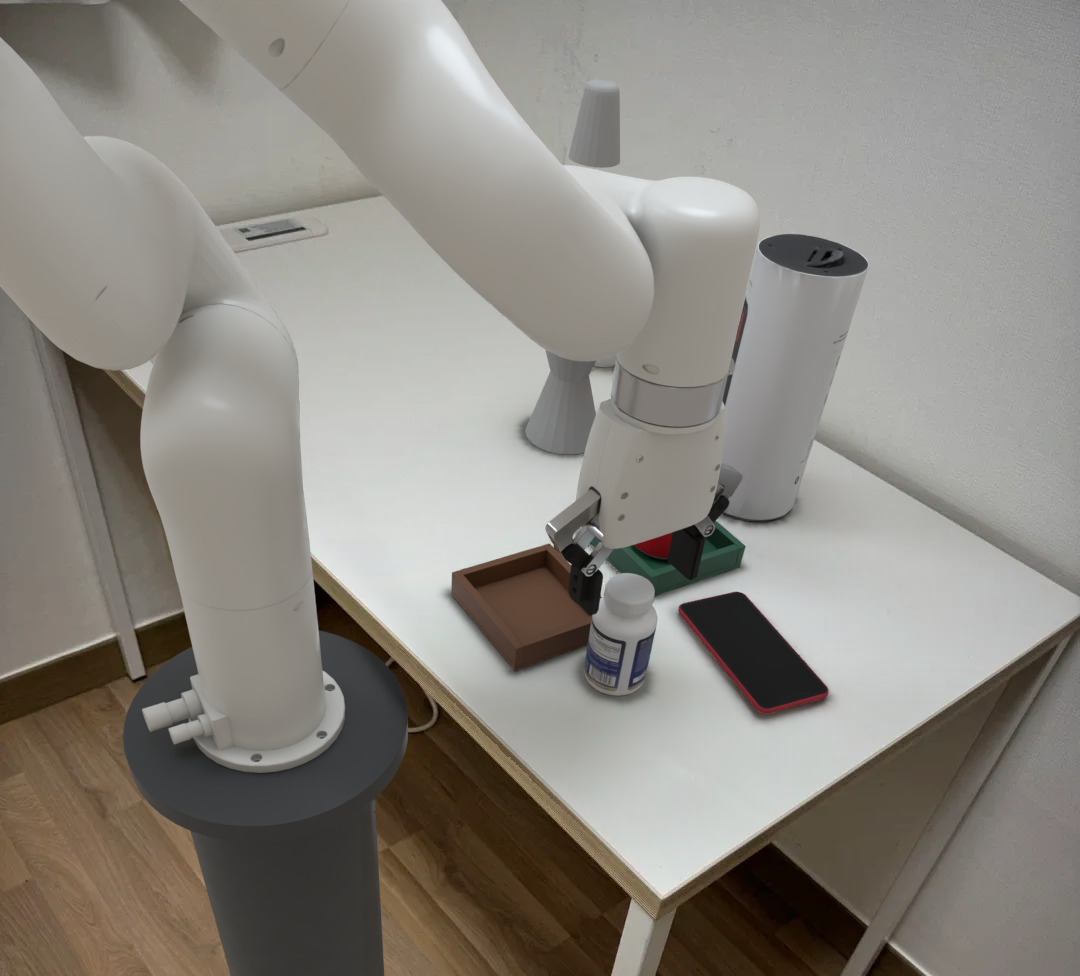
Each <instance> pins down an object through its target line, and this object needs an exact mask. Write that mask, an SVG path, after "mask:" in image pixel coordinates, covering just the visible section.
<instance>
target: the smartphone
mask: <svg viewBox="0 0 1080 976" xmlns="http://www.w3.org/2000/svg"><path fill="white" fill-rule="evenodd" d="M677 611H678V614H679V616H680V617H681V618H682V619H683V621H684V622H685V623H686V624H687V626H688V627H689V628H690V630H691V631H692V632H693V633H694V635H696V637H697V638H698V639H699V640H700V642H701V643H702V644H703V646H704V647H705V648H706V649H707V651H708V652H709V654H711V656H712V657H713V658H714V659H715V660H716V662H717V663H718V664H719V666H720V667H721V668H722V669H723V670H724V672H725V673H726V675H728V677H729V678H730V680H731V681H732V682H733V683H734V685H736V687H737V688H738V689H739V690H740V692H741V693H742V694H743V695H744V697H745V698H746V699H747V701H748V702H749V703H750V704H751V705H752V706H753V708H754V709H755V710H756V711H757V712H758V713H760V714H763V715H769V714H773V713H777V712H781V711H784V710H788V709H791V708H795V707H799V706H801V705H805V704H806V705H807V704H809V703H812V702H816V701H819V700H823V699H825V698H826V697H827V696H829V692H830V690H829V688H828V686H827V685H826V683H825V682H824V681H823V680H822V679H821V678H820V677H819V676H818V675H817V673H816V672H815V671H814V670H813V669H812V667H810V665H808V663H807V662H806V661H805V660H804V658H802V657H801V655H800V654H799V653H798V652H797V651H796V650H795V649H794V648H793V646H792V645H791V644H790V643H789V642H788V641H787V639H785V638H784V636H783V635H782V634H781V633H780V632H779V631H778V630H777V629H776V627H775V626H774V625H773V624H772V622H770V621H769V619H768V618H767V617H766V616H765V615H764V614H763V613H762V611H761V610H760V609H759V608H758V607H757V606H756V605H755V603H753V601H751V599H750V598H749V596H747V594H745V593H743V592H741V591H731V592H726V593H723V594H717V595H713V596H708V597H705V598H701V599H696V600H695V599H694V600H692V601H691V600H690V601H687V602H683V603H681V604H679V606H678V608H677Z"/></svg>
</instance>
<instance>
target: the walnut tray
mask: <svg viewBox="0 0 1080 976" xmlns="http://www.w3.org/2000/svg"><path fill="white" fill-rule="evenodd" d="M570 570H571V564H570V563H569V562H568V561H566V560H565V559H564V557H563V556H562V555H561V554H560V553H559V552H558V551H557V550H556V549H555V548H554V546H553V544H551V543H545V544H543V545H539V546H536V547H533V548H529V549H526V550H523V551H518V552H516V553H511V554H509V555H506V556H501V557H499V558H495V559H492V560H489V561H486V562H482V563H479V564H475V565H472V566H468V567H465V568H461V569H458V570H455V571H452V572H451V587H450V588H451V592H450V595H451V596H452V597H453V598H454V600H455V601H456V602H457V603H458V605H459V606H460V607H461V608H462V609H463V610H464V612H465V613H466V614H467V615H468V616H469V618H470V619H471V620H472V621H473V623H474V624H475V625H476V627H478V629H479V630H480V631H481V632H482V633H483V635H484V636H485V637H486V639H488V641H489V642H490V643H491V644H492V645H493V647H494V648H495V649H496V650H497V652H498V653H499V654H500V655H501V657H502V658H503V659H504V660H505V661H506V663H507V664H508V665H509V666H510V668H511V669H512V671H518V670H521V669H523V668H527V667H530V666H533V665H534V664H539V663H540V662H543V661H546V660H549V659H552V658H555V657H557V656H561V655H563V654H566V653H569V652H571V651H574V650H575V651H576V650H577V649H580V648H583V647H585V646H586V647H587V646H588V639H589V633H590V627H591V620H592V615H591V616H589V615H588V614H587V613H586V612H585V611H584V610H583V609H582V608H581V607H580V605H579V604H578V603H575V602H574V601H573V600H572V598H571V597H570V595H569V591H568V588H569V579H570ZM602 597H603V596H602V595H601V596H600V599H601V598H602Z"/></svg>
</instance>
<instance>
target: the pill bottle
mask: <svg viewBox="0 0 1080 976" xmlns="http://www.w3.org/2000/svg"><path fill="white" fill-rule="evenodd" d="M654 594H655V590H654V586H653V585H652V583H651V582H650V581H649V580H647V579H646V578H644V577H642V576H640V575H637V574H632V573H621V572H620V573H617V574H615V575H612V576H611V577H610V578H609V579H608V580H607V581H606V583H605V586H604V592H603V596H601V597H602V598H601V599H600V603H599V610H598V611H597V614H594V615H592V620H591V627H590V633H589V639H588V645H586V652H585V660H584V665H583V674H584V677H585V679H586V681H587V683H588V684H589V685H590V686H591V687H592V688H593V689H595V690H596V691H598V692H600V693H602V694H604V695H609V696H626V695H629V694H633V693H635V692H637V691H638V690H639V689H640V688H641V687H642V686H643V685H644V682H645V680H646V676H647V672H648V667H649V664H650V659H651V655H652V649H653V644H654V639H655V635H656V630H657V625H658V613H657V611H656V608H655V607H654V605H653V604H654V598H655V596H654Z"/></svg>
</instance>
